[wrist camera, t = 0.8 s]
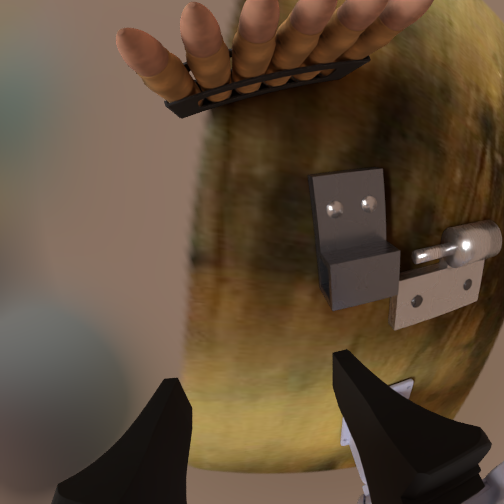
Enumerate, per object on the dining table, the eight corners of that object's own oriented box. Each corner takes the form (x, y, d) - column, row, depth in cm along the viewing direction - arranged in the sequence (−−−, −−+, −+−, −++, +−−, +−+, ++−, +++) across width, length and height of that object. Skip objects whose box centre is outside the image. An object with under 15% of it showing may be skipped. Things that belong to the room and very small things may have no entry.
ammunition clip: (333, 54, 15) (441, -26, 4) (341, 78, 16) (464, 20, 5) (172, 93, 16) (81, 23, 5) (180, 119, 16) (92, 78, 5)
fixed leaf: (470, 295, 22) (489, 310, 20) (388, 322, 23) (404, 344, 20) (479, 215, 20) (503, 225, 17) (392, 232, 20) (414, 246, 17)
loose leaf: (378, 275, 21) (398, 294, 18) (319, 288, 21) (332, 311, 18) (374, 167, 18) (398, 171, 15) (307, 175, 18) (322, 181, 15)
